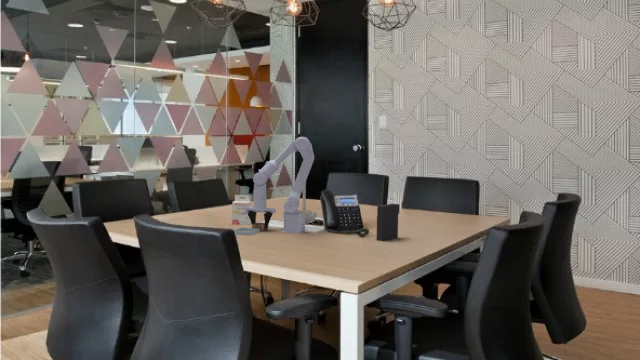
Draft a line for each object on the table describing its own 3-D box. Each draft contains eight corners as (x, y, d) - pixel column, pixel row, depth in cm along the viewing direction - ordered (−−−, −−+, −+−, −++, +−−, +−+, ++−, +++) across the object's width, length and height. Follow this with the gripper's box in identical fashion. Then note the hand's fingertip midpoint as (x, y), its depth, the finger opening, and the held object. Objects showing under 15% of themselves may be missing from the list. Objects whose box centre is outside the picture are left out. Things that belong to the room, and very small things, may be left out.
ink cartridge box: (231, 225, 276) (231, 195, 274) (234, 224, 280) (234, 194, 279) (248, 226, 275) (248, 196, 274) (251, 224, 280) (251, 195, 278)
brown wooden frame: (263, 231, 256) (263, 225, 256) (252, 230, 258) (252, 224, 258) (269, 229, 263) (269, 222, 262) (258, 228, 264) (258, 222, 264)
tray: (260, 233, 256) (260, 228, 255) (251, 236, 246) (251, 232, 246) (240, 231, 258) (240, 227, 258) (231, 235, 249) (231, 230, 249)
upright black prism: (391, 236, 249) (391, 203, 248) (399, 238, 246) (399, 204, 245) (375, 240, 241) (375, 205, 240) (383, 241, 238) (383, 206, 237)
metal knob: (267, 230, 261) (267, 222, 261) (263, 232, 257) (263, 224, 256) (257, 230, 263) (257, 221, 262) (252, 232, 258) (252, 223, 258)
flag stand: (305, 219, 297) (305, 162, 295) (321, 222, 288) (322, 164, 285) (286, 222, 288) (286, 163, 286) (302, 225, 279) (303, 164, 276)
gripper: (242, 198, 257) (242, 228, 258) (271, 200, 252) (271, 230, 254) (248, 197, 264) (248, 225, 265) (277, 198, 259) (277, 227, 260)
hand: (260, 227), depth 260 cm, fingers closed on brown wooden frame, 6 cm apart
